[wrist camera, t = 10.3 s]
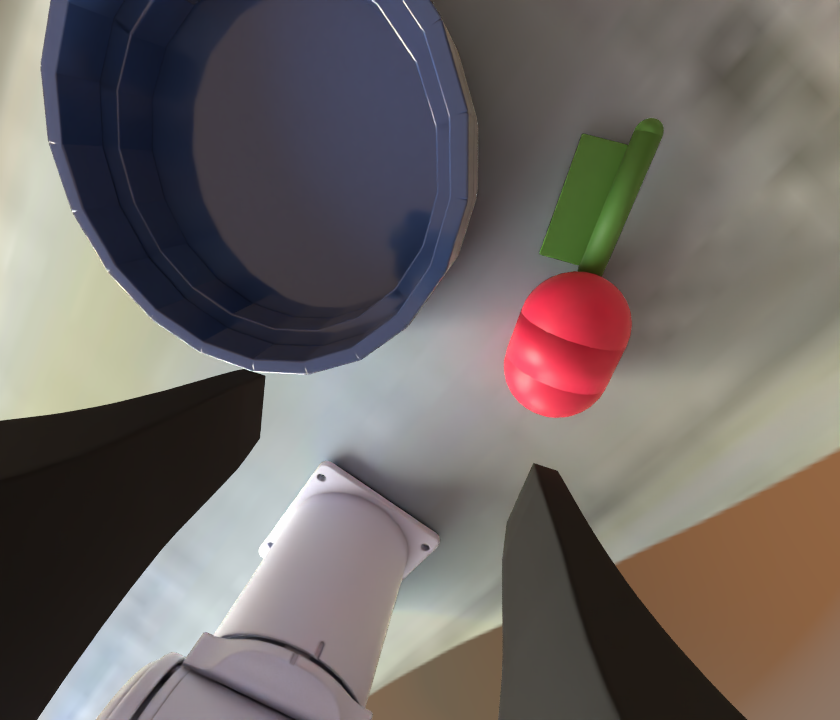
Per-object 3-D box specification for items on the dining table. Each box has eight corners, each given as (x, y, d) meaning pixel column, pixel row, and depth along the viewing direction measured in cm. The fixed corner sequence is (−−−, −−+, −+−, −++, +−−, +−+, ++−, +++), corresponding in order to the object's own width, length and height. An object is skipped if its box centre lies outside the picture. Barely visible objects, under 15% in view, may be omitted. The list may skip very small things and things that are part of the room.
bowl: (359, 396, 22) (327, 440, 18) (100, 217, 21) (14, 226, 17) (565, 104, 15) (580, 82, 12) (202, -179, 14) (96, -296, 11)
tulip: (579, 400, 20) (592, 451, 16) (493, 373, 20) (488, 418, 16) (702, 136, 15) (761, 125, 11) (588, 107, 15) (609, 88, 12)
